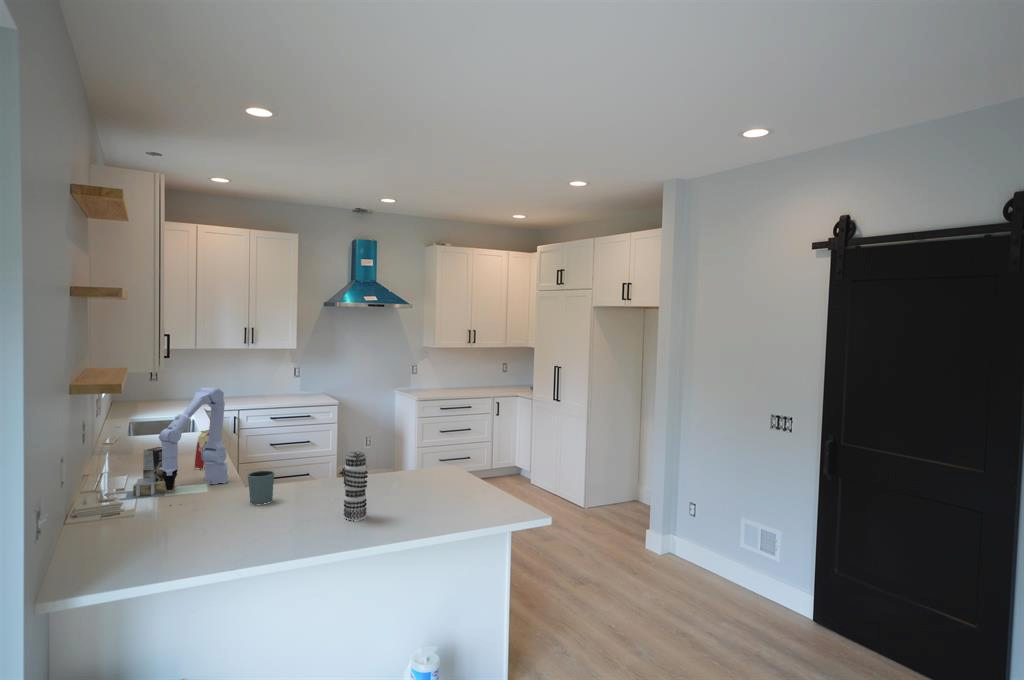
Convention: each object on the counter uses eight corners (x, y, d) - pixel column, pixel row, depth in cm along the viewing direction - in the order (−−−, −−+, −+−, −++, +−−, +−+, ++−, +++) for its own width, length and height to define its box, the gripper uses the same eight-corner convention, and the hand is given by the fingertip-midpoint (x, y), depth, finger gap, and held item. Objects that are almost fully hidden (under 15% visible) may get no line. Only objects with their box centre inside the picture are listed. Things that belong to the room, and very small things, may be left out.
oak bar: (175, 489, 262) (174, 480, 262) (174, 491, 259) (174, 482, 259) (134, 493, 255) (133, 484, 255) (133, 495, 252) (133, 486, 252)
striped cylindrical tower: (340, 515, 236) (341, 451, 236) (365, 513, 240) (365, 449, 239) (344, 522, 228) (345, 456, 227) (369, 520, 232) (370, 454, 231)
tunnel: (155, 490, 261) (155, 477, 261) (154, 495, 253) (154, 482, 253) (137, 491, 258) (137, 478, 258) (136, 497, 250) (136, 483, 250)
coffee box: (154, 487, 271) (155, 450, 271) (142, 486, 273) (142, 450, 272) (170, 481, 280) (170, 447, 280) (158, 481, 282) (158, 446, 281)
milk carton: (220, 467, 309) (221, 428, 309) (203, 471, 301) (203, 430, 301) (210, 465, 314) (210, 426, 313) (192, 468, 306) (193, 428, 306)
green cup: (278, 502, 252) (278, 473, 252) (254, 507, 244) (254, 477, 244) (267, 497, 259) (267, 469, 258) (243, 502, 251) (243, 473, 251)
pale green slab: (206, 487, 273) (206, 483, 273) (207, 495, 260) (207, 491, 260) (105, 496, 255) (105, 493, 255) (100, 506, 242) (100, 502, 242)
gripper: (159, 454, 264) (159, 485, 264) (158, 461, 251) (158, 494, 251) (178, 453, 267) (178, 483, 268) (177, 459, 254) (177, 492, 255)
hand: (169, 488), depth 260 cm, fingers closed on oak bar, 4 cm apart
